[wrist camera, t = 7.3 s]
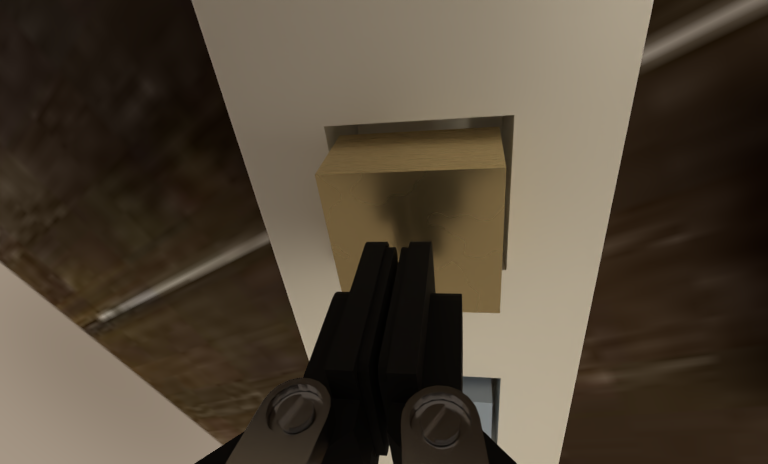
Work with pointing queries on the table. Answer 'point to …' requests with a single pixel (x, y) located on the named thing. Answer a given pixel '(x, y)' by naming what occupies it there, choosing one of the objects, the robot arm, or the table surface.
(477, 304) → the brass button
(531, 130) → the button console
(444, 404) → the robot arm
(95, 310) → the table surface
